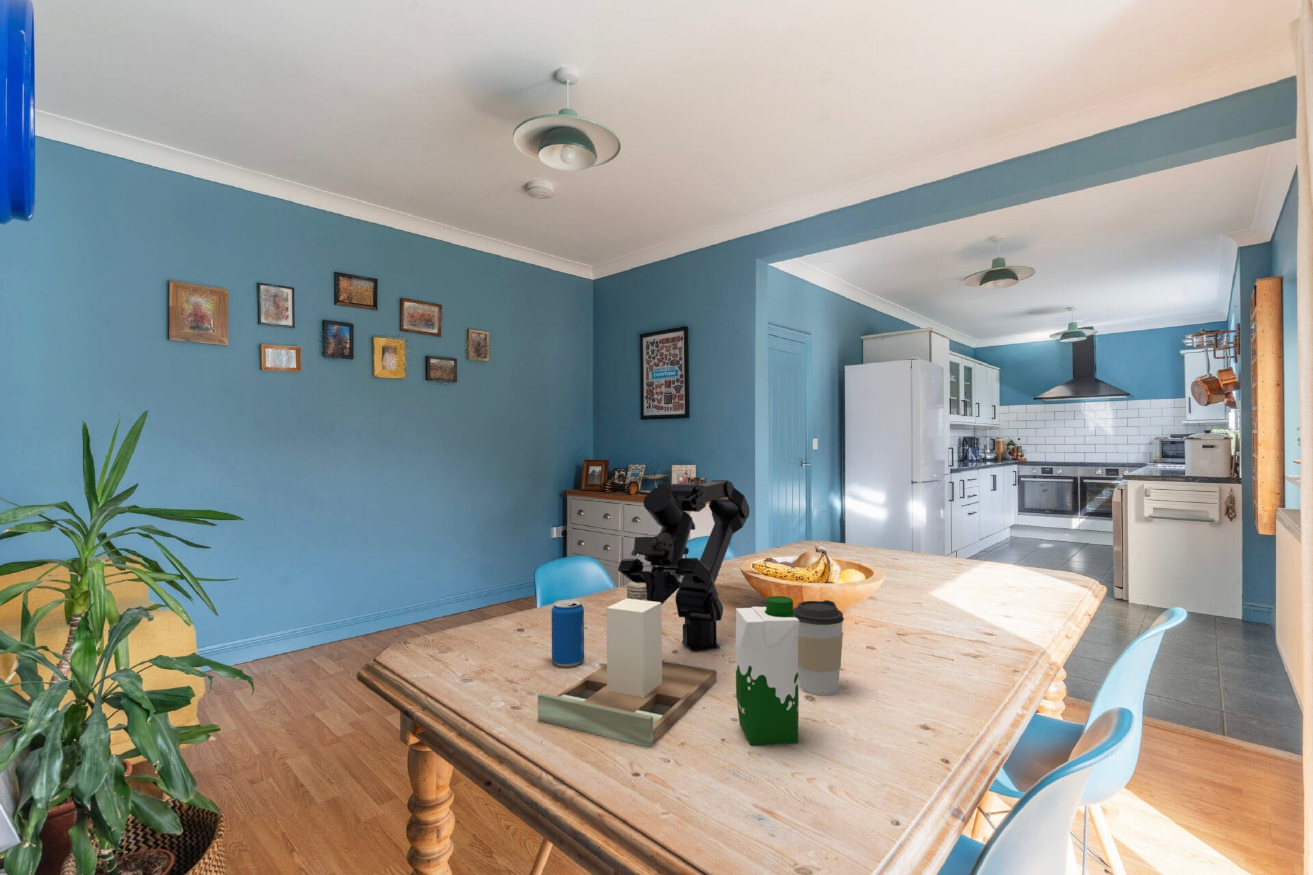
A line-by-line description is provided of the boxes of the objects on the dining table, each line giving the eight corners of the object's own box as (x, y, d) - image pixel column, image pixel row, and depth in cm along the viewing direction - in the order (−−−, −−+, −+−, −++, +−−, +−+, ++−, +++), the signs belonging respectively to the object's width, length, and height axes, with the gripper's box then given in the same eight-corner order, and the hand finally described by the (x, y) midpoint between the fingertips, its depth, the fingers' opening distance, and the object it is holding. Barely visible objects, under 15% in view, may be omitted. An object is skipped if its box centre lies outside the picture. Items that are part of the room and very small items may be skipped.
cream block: (627, 676, 108) (626, 598, 108) (662, 682, 105) (661, 602, 105) (607, 690, 102) (606, 607, 102) (643, 697, 99) (642, 612, 99)
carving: (638, 640, 134) (637, 586, 134) (618, 632, 140) (618, 581, 140) (660, 634, 138) (659, 582, 138) (640, 627, 144) (639, 577, 144)
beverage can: (578, 669, 117) (577, 607, 117) (546, 667, 118) (546, 606, 118) (588, 657, 123) (587, 599, 124) (558, 656, 125) (558, 598, 125)
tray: (622, 664, 119) (621, 644, 119) (716, 681, 110) (716, 659, 110) (537, 720, 95) (537, 695, 95) (649, 747, 86) (649, 719, 86)
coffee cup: (816, 701, 101) (815, 612, 101) (782, 683, 109) (781, 600, 109) (856, 691, 105) (854, 605, 105) (819, 674, 113) (818, 594, 113)
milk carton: (806, 745, 86) (804, 606, 87) (744, 748, 85) (742, 608, 86) (787, 718, 95) (786, 591, 95) (731, 721, 94) (730, 593, 95)
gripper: (614, 520, 121) (587, 592, 112) (690, 515, 109) (666, 595, 101) (645, 546, 127) (622, 617, 119) (720, 545, 116) (700, 622, 107)
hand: (650, 612), depth 111 cm, fingers closed
